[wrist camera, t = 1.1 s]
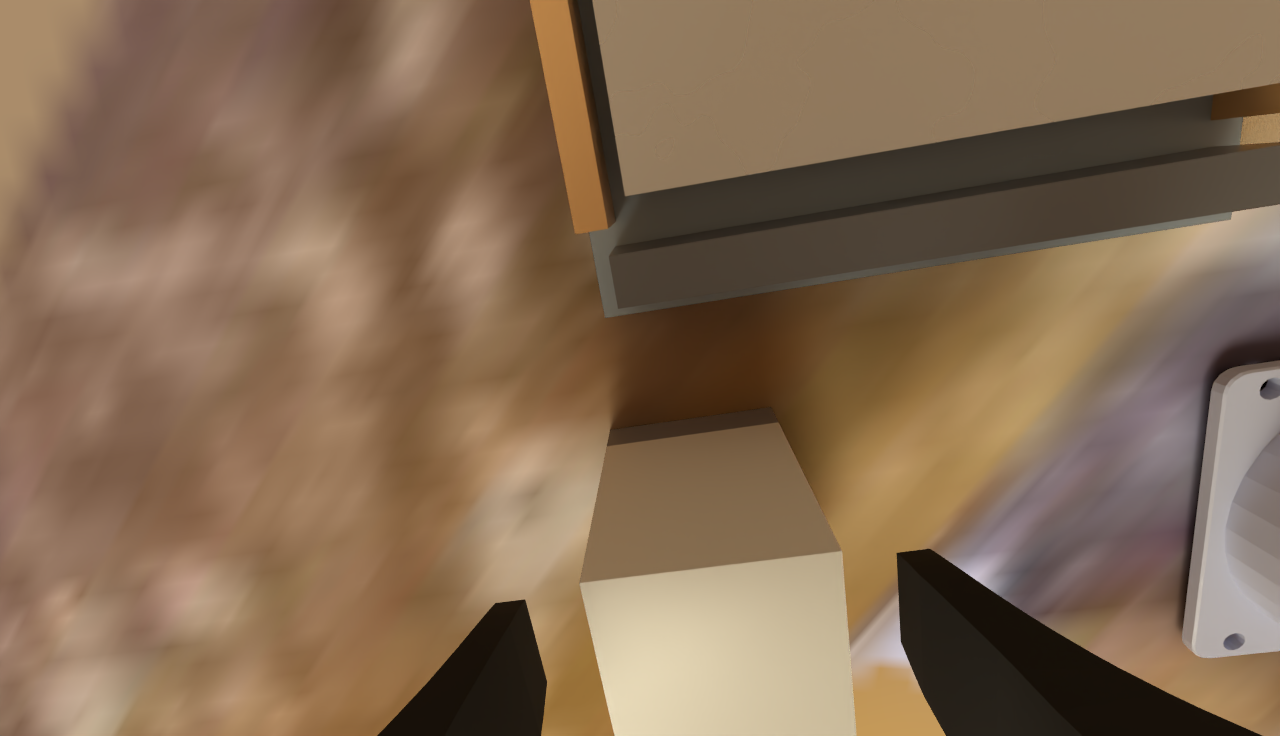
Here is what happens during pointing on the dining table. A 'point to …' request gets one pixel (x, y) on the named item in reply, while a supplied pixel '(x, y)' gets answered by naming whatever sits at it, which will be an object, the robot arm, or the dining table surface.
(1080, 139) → the rail panel
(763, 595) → the block
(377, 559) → the dining table surface
